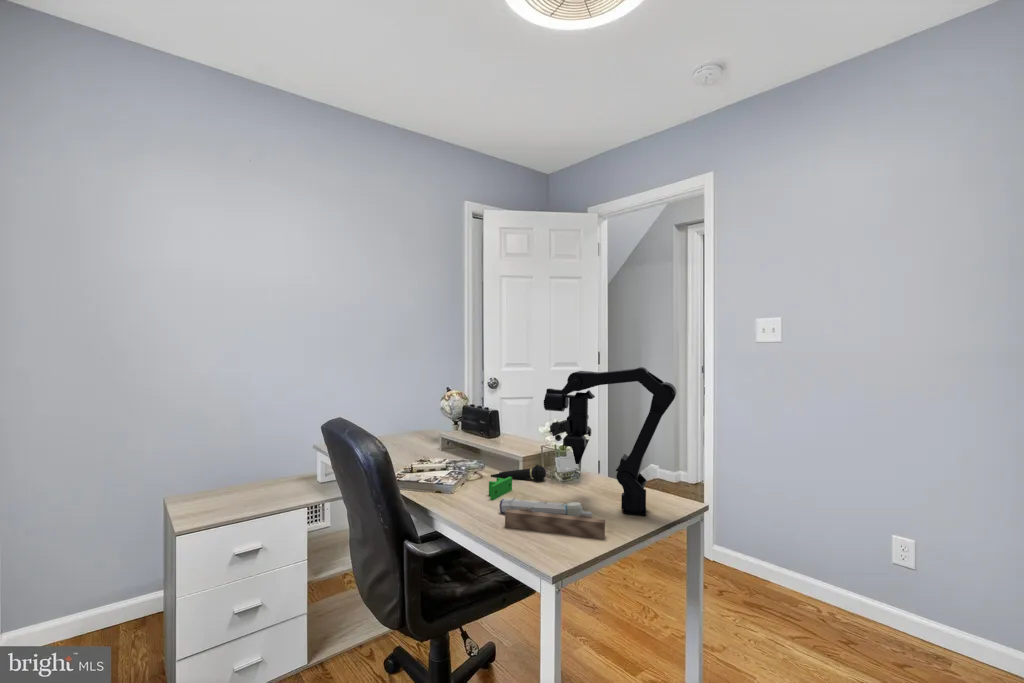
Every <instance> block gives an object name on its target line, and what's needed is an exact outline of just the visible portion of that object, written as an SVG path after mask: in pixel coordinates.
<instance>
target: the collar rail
mask: <svg viewBox="0 0 1024 683" xmlns="http://www.w3.org/2000/svg"><path fill="white" fill-rule="evenodd" d="M504 527H505V528H509V529H510V528H513V529H521V530H527V531H528V530H529V531H535V532H546V533H553V534H560V535H569V536H577V537H586V538H595V539H602V540H604V539H605V535H606V519H604V518H593V511H586V510H583V511H580V517H577V516H568V515H559V514H550V513H541V512H532V506H531V505H521V506H520V510H514V509H507V510H506V511H505V513H504Z"/></svg>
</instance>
